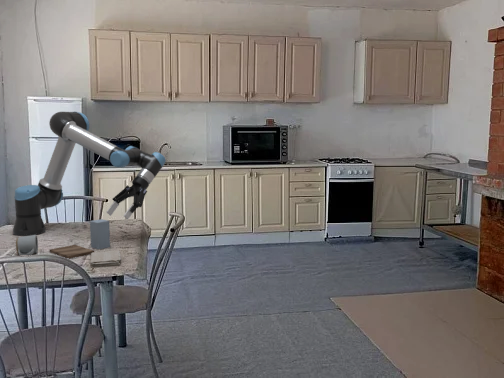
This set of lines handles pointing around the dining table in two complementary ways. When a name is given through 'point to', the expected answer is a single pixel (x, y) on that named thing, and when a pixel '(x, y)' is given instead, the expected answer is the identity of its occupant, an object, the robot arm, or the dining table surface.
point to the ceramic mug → (27, 245)
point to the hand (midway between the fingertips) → (116, 215)
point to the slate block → (100, 234)
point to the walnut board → (71, 251)
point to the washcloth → (105, 259)
